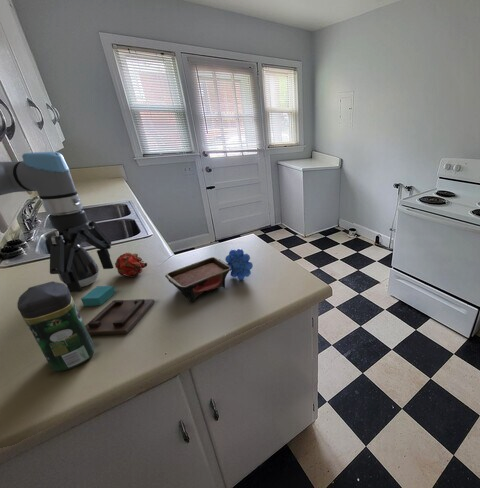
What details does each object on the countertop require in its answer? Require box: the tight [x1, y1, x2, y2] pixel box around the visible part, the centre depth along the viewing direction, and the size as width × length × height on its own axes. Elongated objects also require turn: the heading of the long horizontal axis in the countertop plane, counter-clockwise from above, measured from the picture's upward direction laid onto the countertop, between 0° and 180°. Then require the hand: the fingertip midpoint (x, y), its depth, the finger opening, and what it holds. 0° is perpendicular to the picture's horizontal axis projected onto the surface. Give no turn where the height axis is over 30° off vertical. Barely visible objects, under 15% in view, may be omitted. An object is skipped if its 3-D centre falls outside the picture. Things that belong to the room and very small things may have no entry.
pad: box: [80, 285, 117, 307], centre depth 84 cm, size 7×5×3 cm
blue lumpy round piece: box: [224, 248, 254, 281], centre depth 94 cm, size 12×7×12 cm, turn 65°
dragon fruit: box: [114, 252, 148, 278], centre depth 98 cm, size 8×8×12 cm
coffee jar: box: [17, 281, 95, 372], centre depth 60 cm, size 10×8×19 cm
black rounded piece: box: [57, 244, 100, 288], centre depth 90 cm, size 10×10×15 cm
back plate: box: [84, 298, 155, 336], centre depth 76 cm, size 14×12×2 cm
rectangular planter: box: [164, 256, 231, 304], centre depth 89 cm, size 14×18×10 cm
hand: (93, 279), depth 82 cm, fingers open, 13 cm apart
